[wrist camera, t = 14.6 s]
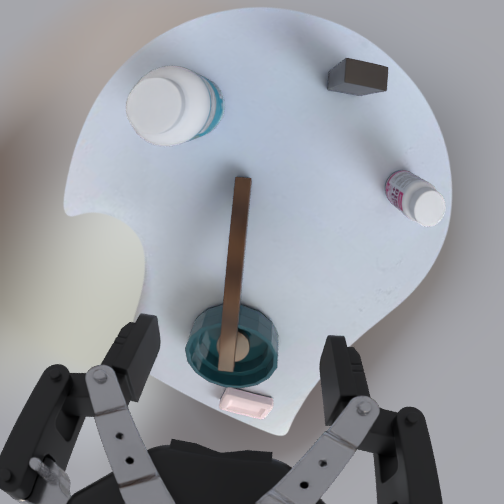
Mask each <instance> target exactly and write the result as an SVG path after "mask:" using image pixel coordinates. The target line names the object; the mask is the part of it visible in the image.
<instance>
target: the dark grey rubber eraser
mask: <svg viewBox="0 0 504 504" xmlns="http://www.w3.org/2000/svg"><path fill="white" fill-rule="evenodd" d="M387 80H388V67H385V66H381V65H377V64H373V63H369V62H364V61H360V60H355V59H350V58H345V59H344V60H343V61H342V62H340V63H339V64H338V65H336V66H335V67H334V68H333V69H331V70H330V71H329V76H328V89H327V90H330V91H336V92H342V93H347V94H353V95H358V96H362V95H367V94H373V93H378V92H384V91H387Z"/></svg>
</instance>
